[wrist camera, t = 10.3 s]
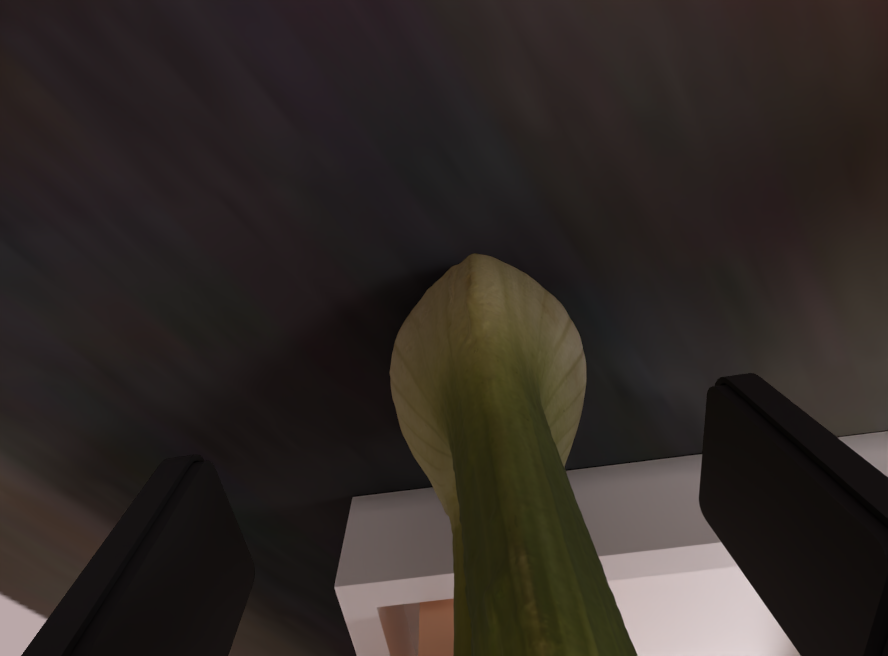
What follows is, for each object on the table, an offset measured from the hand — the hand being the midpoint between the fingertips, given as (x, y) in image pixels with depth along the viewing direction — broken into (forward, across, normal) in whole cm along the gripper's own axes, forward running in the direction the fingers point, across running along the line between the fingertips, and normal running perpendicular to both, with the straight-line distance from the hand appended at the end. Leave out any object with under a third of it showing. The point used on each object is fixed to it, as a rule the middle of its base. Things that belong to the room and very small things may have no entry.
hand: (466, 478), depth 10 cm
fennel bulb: (+6, -1, 0) cm, 6 cm away
